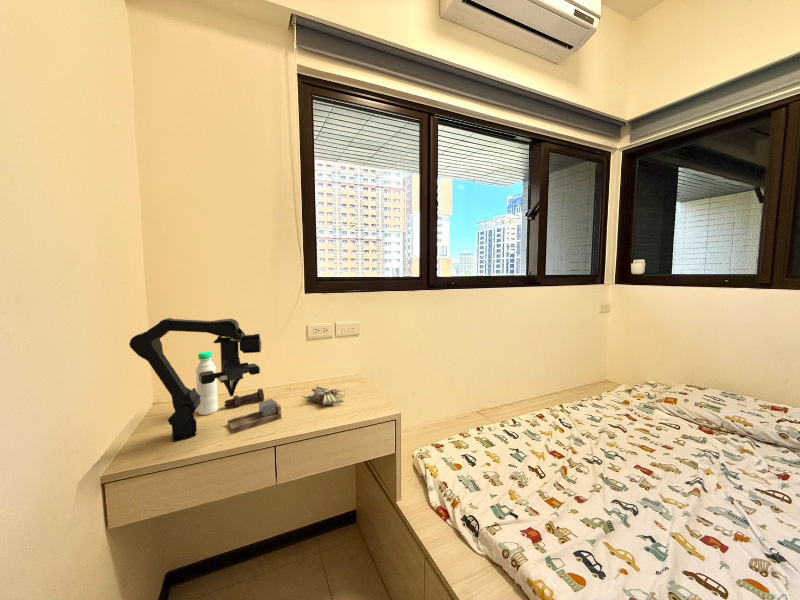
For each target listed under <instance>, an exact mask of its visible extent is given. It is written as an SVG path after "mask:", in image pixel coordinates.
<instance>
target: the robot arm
mask: <svg viewBox="0 0 800 600" xmlns="http://www.w3.org/2000/svg"><path fill="white" fill-rule="evenodd" d="M169 332H189V333H191V332H192V333H208V334H211V335H215V336H217V338H216V339H214V341H213V343H214V344H220V345H219V346H220V372H219V371H218V372H216V373H213V371H207V372H201V373H200V374H199V381H200V383H201V384H208V383H213V382H214V381H215V378H217V380H218V381H219V382H220V383H221V384H223V385H224V386H225V388H226V390H227V393H228V394H229V397H234V394H235V391H236V388H237V385H238V384H239V382H240V381H241V380H243V379H244V375H246V374H247V373H248V374H250V375H251V376H254V375H259V374H260V373H261V368H260V366H259V365H258V364H256V363H255V362H254V363H249V362H243V363H241V361H240V354H239V353H240V351H241V353H242V352H243V354H254V353H261V352H262V340H261V335H260V333H253V334H246V333H245V332H244V331H243V330H242V329H241V327H240V324H239V322H238V321H237V320H236V319H235V318H225V319H216V320H197V319H182V318H180V319H179V318H172V317H168V318H164V319H161V320H160V321H159V322H158V323H157V324H156V325H154V326H152V327H151V328H149V329H148V330H146V331H144V332H141V333H139V334H136V335H134V336H132V337H131V338H130V341H129V343H128V345H129V348H130V349H131V350H132V351H133V352H134V353H135V354H136V355H137V356H138V357H140V358H142V359H143V360H145V361H147V362H148V364H149V365H150V367H151V369H152V370H153V371H154V373H155V374H156V375H157V377H158V378H159V380H160V382H162V384H163V386H164V387H165V388H166V390H167V391H168V393H169V394H170V395H171V396H170V397H171V400H172V401H171V402H172V406H173V409H174V412H173V413H172V414H171V415H170V417H169V418H168V419H167V423H169V425H170V426H171V438H172V442H173V443H175V442H178V441H183V440H186V439H188V438H189V439H190V438H193V437H195V436H197V433H196V432H197V430H198V429H197V419H196V418H195V417H194V414H195V412H196V411H197V410H198V407H199V405H200V402H201V400H200V397H201V396H200V395H199V394H198V393H197V388H195V387H194V388H192V389H190V388H188V387H187V386H185V384H184V382H183V381H182V379H181V378H180V376H179V375H178V373H177V372H176V370H175V368H174V367H173V366H172V365H171V363H170V361H169V360H168V358H167V357H166V355H165V354H164V350H163V343H162V341H161V338H163V337H164V336H165V335H167V334H168V333H169Z"/></svg>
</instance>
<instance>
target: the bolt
mask: <svg viewBox="0 0 800 600" xmlns="http://www.w3.org/2000/svg"><path fill="white" fill-rule="evenodd" d="M255 401H259V402H262V401H265V394H264V389H262V388H259V389H257V392H253V393H249V394H246V395H241V396H239V395H233V396H232V398H231V399H226V400H225V401H224V402H223V403H224V405H223V406H224V407H225V408H226V409H227V408H231V407H234V408H239V407H240V406H241V405H243V404H246V403H251V402H255Z"/></svg>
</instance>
